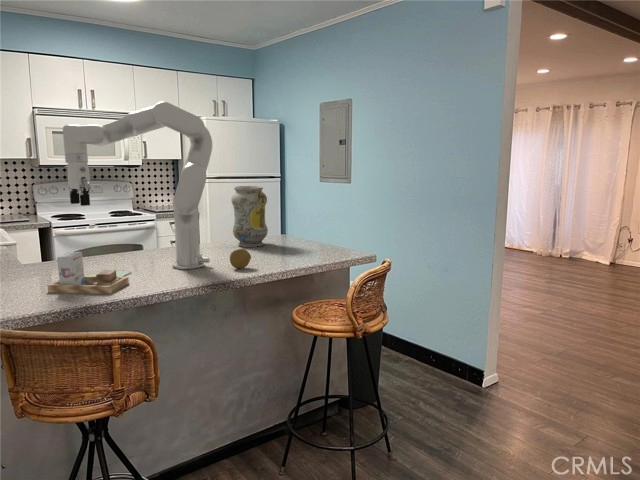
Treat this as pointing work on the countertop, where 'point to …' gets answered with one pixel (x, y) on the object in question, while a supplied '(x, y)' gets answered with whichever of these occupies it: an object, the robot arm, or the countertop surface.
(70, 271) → the ink box
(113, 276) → the offcut top
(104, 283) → the offcut low
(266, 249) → the countertop surface
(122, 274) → the mat
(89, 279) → the frame
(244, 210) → the vase
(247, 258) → the potato
